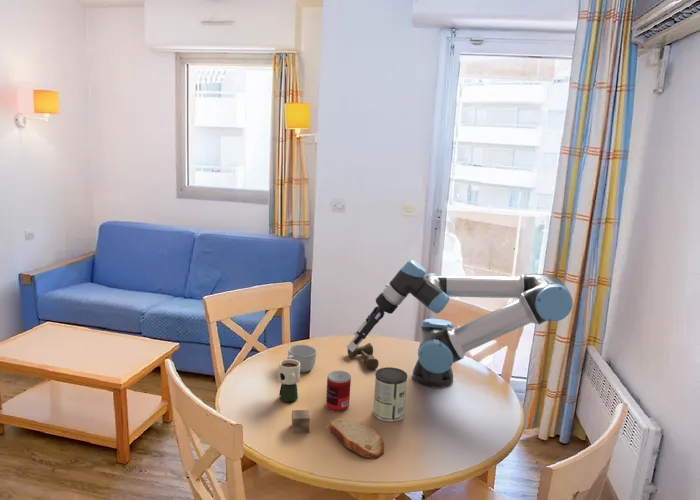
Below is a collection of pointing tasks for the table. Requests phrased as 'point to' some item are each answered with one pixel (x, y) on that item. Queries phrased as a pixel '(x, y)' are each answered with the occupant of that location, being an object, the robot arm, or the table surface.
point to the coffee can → (390, 394)
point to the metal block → (300, 421)
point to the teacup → (303, 356)
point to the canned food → (338, 391)
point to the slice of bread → (358, 438)
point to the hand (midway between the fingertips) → (353, 342)
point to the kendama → (365, 356)
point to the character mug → (289, 379)
